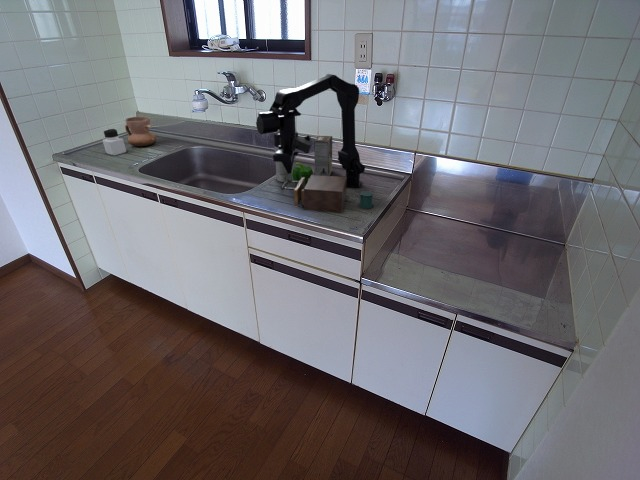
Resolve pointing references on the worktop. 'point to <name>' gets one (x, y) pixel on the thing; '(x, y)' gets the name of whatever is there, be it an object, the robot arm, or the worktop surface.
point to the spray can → (280, 163)
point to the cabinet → (325, 193)
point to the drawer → (296, 190)
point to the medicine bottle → (113, 142)
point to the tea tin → (366, 199)
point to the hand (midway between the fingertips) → (289, 173)
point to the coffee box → (323, 155)
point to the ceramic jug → (139, 131)
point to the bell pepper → (301, 173)
